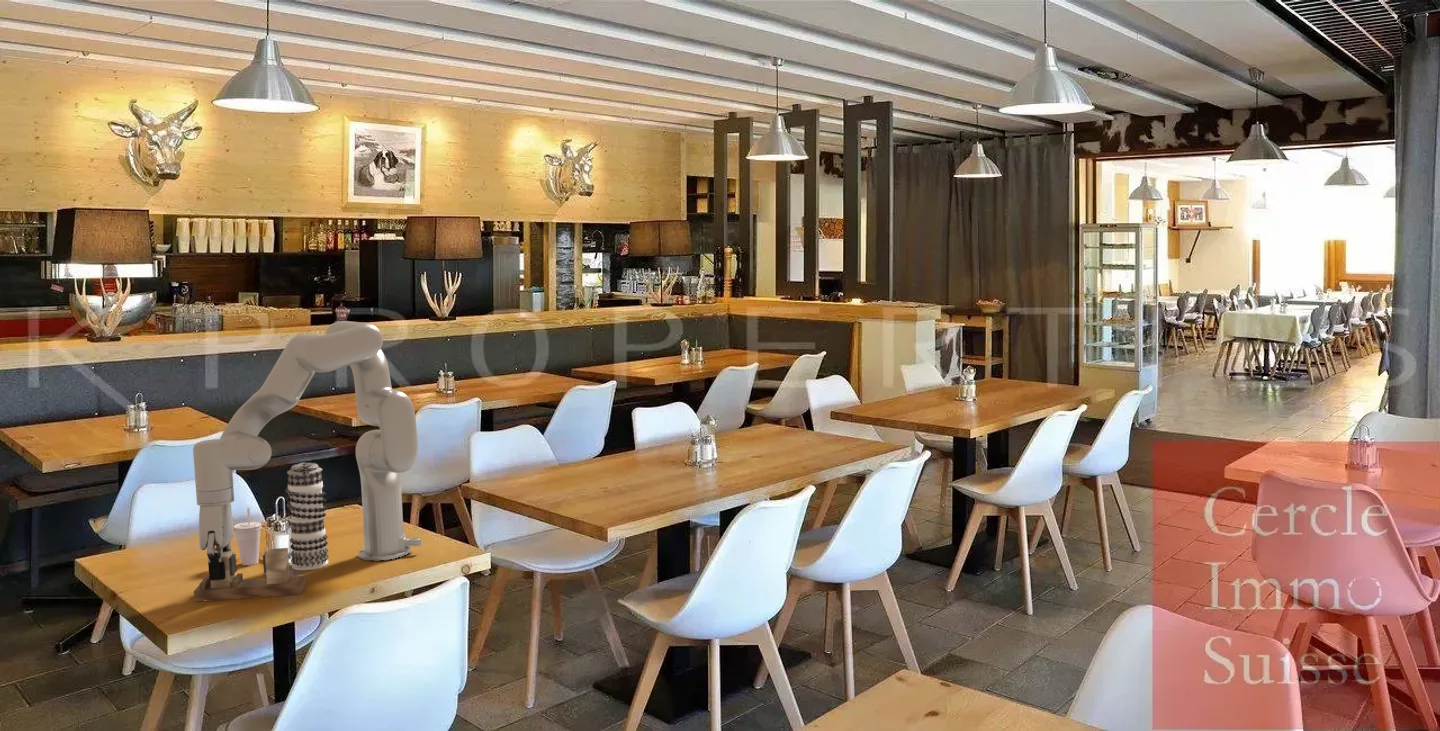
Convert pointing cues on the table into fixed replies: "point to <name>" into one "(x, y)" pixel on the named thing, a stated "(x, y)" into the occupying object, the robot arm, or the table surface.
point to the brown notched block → (257, 581)
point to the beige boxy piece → (226, 571)
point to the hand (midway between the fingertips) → (221, 574)
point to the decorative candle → (307, 516)
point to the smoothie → (248, 540)
